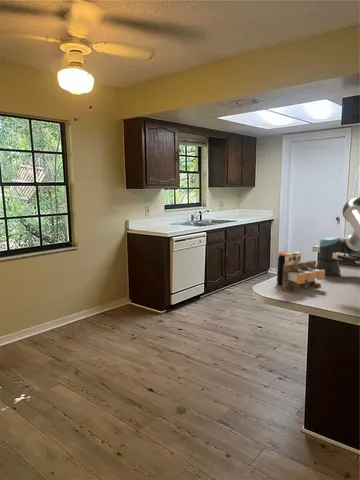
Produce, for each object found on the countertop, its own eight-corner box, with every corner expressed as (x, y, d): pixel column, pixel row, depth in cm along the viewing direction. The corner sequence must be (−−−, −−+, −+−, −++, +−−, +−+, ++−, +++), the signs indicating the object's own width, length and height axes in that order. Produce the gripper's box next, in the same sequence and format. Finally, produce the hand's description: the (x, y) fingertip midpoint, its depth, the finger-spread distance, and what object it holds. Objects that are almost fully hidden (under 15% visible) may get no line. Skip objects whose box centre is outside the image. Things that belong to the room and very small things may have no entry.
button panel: (311, 284, 201) (313, 249, 198) (320, 286, 196) (323, 251, 193) (281, 290, 189) (283, 253, 186) (290, 293, 184) (293, 255, 181)
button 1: (292, 279, 190) (292, 270, 190) (304, 282, 183) (305, 273, 183) (286, 280, 188) (286, 271, 187) (298, 284, 181) (299, 274, 180)
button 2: (311, 275, 199) (312, 267, 198) (324, 278, 192) (325, 270, 191) (306, 276, 196) (306, 268, 195) (318, 279, 189) (319, 271, 188)
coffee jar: (293, 287, 194) (295, 255, 191) (274, 284, 199) (276, 253, 197) (298, 283, 203) (300, 252, 200) (280, 280, 208) (281, 250, 206)
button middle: (302, 277, 194) (302, 268, 194) (314, 280, 188) (315, 271, 187) (296, 278, 192) (296, 269, 191) (308, 281, 185) (309, 272, 184)
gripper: (370, 273, 159) (324, 263, 179) (388, 269, 167) (343, 260, 187) (371, 257, 158) (325, 249, 178) (390, 254, 166) (344, 246, 186)
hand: (334, 255), depth 183 cm, fingers open, 2 cm apart
